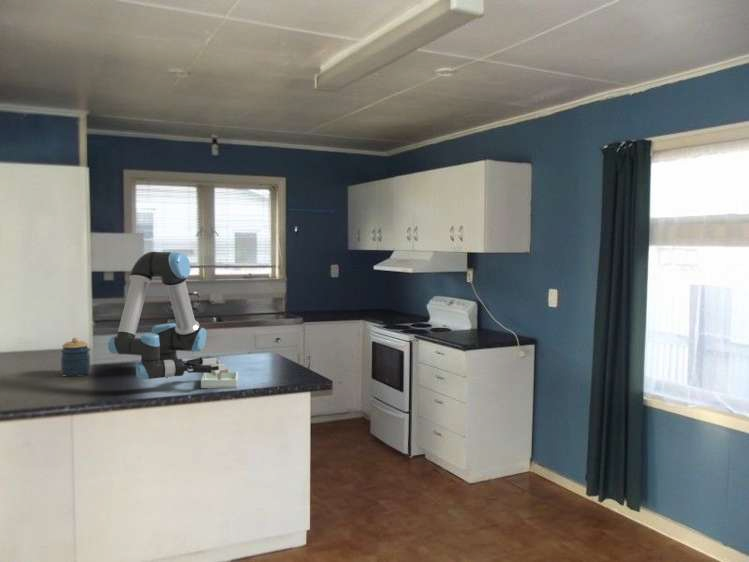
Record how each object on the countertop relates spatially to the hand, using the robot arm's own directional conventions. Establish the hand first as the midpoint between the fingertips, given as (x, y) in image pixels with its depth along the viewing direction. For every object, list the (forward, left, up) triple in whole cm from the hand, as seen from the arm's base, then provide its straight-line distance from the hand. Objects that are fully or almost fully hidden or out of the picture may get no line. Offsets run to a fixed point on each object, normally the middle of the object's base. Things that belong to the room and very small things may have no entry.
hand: (220, 363), depth 294 cm
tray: (0, 0, -9) cm, 10 cm away
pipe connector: (0, 0, -9) cm, 9 cm away
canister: (-69, +24, -10) cm, 74 cm away
